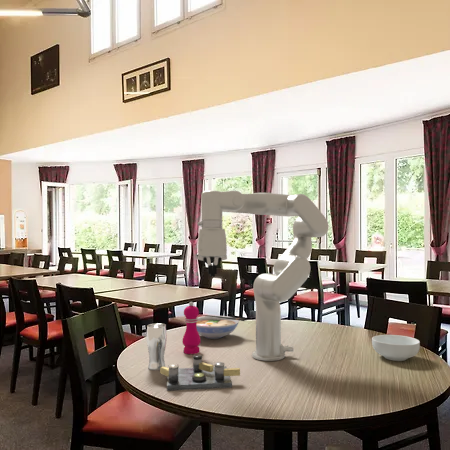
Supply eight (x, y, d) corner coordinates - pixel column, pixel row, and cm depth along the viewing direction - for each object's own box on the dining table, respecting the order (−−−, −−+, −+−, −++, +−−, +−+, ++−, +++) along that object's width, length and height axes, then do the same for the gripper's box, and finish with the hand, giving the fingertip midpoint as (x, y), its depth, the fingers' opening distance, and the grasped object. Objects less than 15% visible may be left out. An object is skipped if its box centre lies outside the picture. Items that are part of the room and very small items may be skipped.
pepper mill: (198, 355, 175) (197, 303, 175) (180, 354, 177) (179, 303, 177) (202, 350, 182) (202, 300, 182) (185, 349, 184) (185, 300, 184)
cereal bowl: (426, 357, 170) (426, 338, 170) (409, 367, 158) (409, 347, 158) (383, 349, 182) (382, 331, 182) (364, 358, 170) (364, 339, 170)
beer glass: (150, 372, 155) (150, 328, 155) (144, 366, 162) (144, 324, 162) (169, 368, 159) (169, 326, 159) (162, 363, 165) (162, 322, 165)
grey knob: (214, 379, 142) (214, 365, 142) (214, 376, 145) (214, 362, 145) (240, 378, 143) (240, 364, 143) (239, 375, 146) (238, 361, 146)
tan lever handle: (190, 370, 152) (190, 356, 152) (197, 367, 154) (197, 354, 154) (208, 375, 146) (208, 361, 146) (215, 372, 149) (215, 358, 149)
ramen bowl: (176, 338, 201) (176, 320, 201) (207, 328, 220) (207, 311, 220) (222, 346, 187) (222, 327, 187) (251, 335, 206) (250, 317, 206)
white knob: (180, 380, 142) (180, 365, 142) (172, 382, 140) (172, 367, 140) (166, 373, 148) (166, 359, 148) (157, 376, 146) (157, 361, 146)
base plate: (226, 371, 156) (226, 361, 156) (232, 387, 140) (232, 377, 140) (167, 373, 154) (167, 364, 154) (167, 390, 138) (166, 380, 138)
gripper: (191, 225, 158) (191, 277, 158) (233, 225, 159) (234, 277, 159) (190, 225, 165) (191, 275, 165) (231, 225, 167) (231, 274, 167)
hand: (212, 276), depth 162 cm, fingers closed
